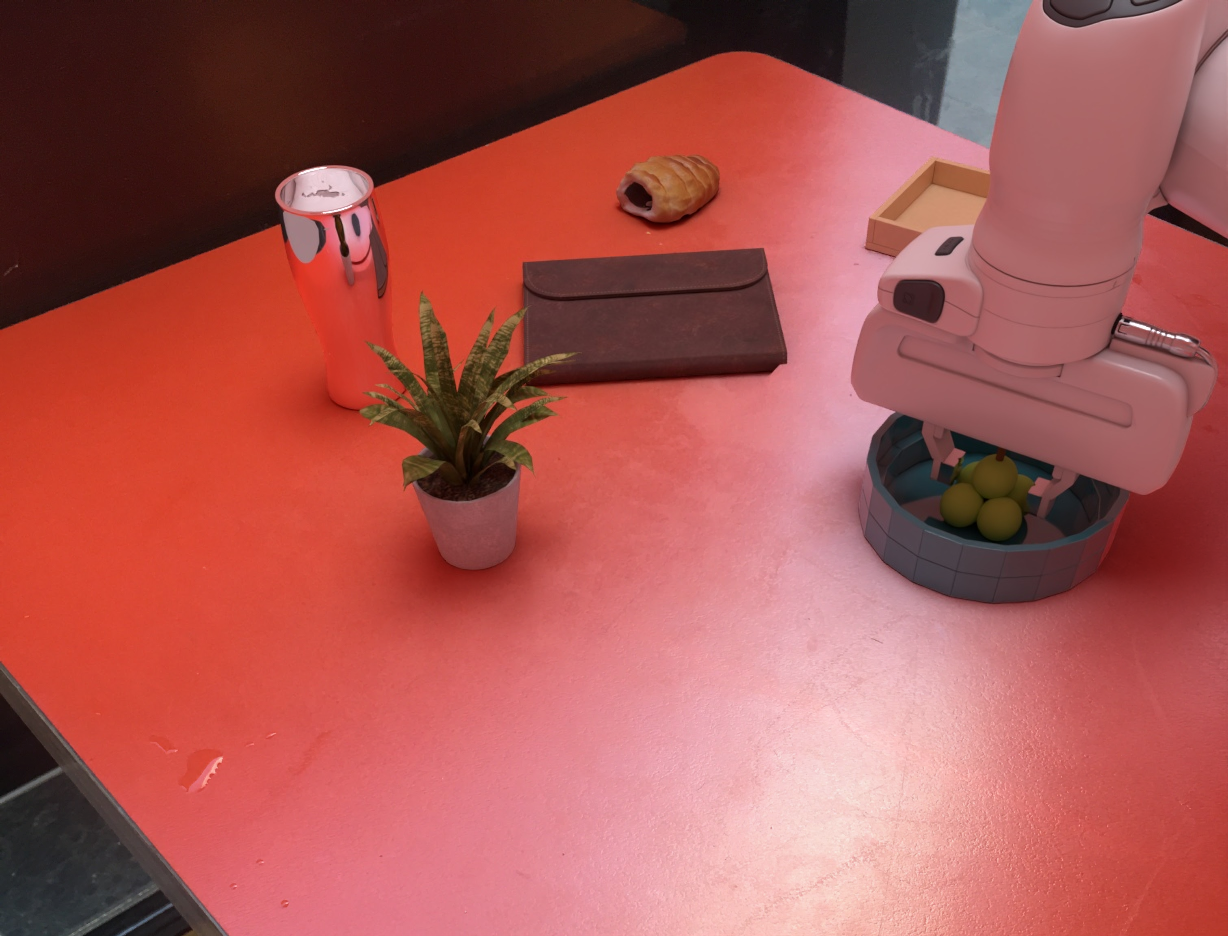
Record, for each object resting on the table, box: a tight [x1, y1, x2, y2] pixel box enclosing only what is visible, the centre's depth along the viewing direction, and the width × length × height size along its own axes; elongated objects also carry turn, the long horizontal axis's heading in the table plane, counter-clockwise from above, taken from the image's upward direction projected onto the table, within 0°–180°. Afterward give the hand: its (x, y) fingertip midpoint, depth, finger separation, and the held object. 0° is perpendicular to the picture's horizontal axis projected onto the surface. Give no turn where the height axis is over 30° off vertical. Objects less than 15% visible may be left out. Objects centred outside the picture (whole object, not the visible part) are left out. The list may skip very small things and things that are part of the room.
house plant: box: [357, 289, 581, 571], centre depth 75 cm, size 14×14×16 cm
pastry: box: [615, 154, 721, 224], centre depth 107 cm, size 9×7×4 cm
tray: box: [864, 155, 990, 258], centre depth 102 cm, size 15×12×3 cm
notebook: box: [522, 247, 788, 386], centre depth 97 cm, size 15×20×2 cm
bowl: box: [857, 411, 1131, 604], centre depth 80 cm, size 16×16×5 cm
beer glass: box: [274, 164, 407, 411], centre depth 88 cm, size 7×7×15 cm
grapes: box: [939, 447, 1034, 541], centre depth 79 cm, size 5×5×6 cm
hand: (989, 494), depth 80 cm, fingers closed on grapes, 5 cm apart
